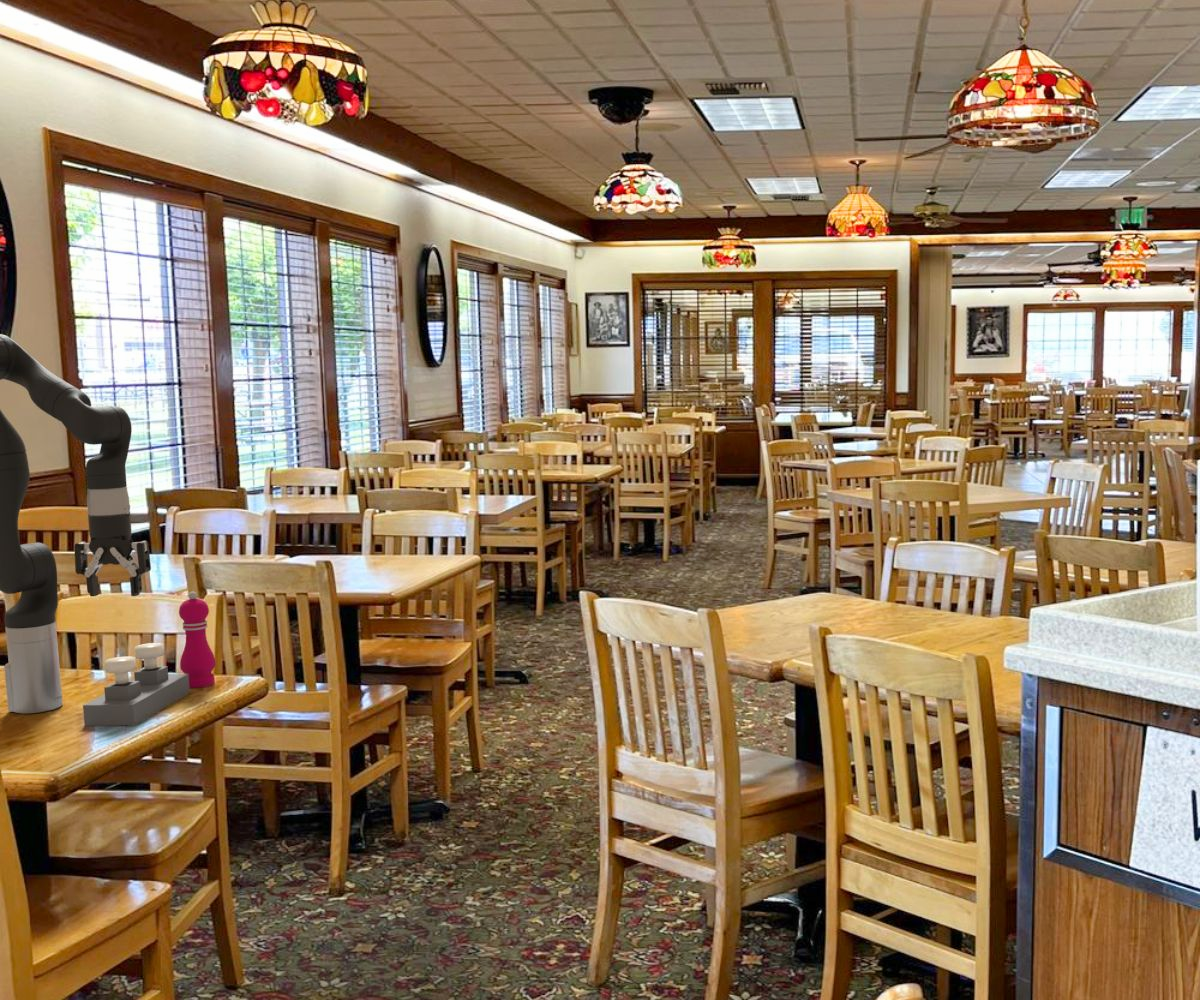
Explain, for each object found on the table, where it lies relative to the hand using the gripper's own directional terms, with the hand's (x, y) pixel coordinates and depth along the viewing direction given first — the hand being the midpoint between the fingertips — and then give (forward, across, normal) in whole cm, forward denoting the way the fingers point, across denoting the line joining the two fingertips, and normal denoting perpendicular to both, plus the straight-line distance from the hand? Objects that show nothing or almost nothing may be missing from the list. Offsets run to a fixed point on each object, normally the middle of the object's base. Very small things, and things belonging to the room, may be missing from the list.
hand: (115, 595), depth 245 cm
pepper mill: (+24, +4, +25) cm, 35 cm away
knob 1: (+17, 0, 0) cm, 17 cm away
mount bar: (+24, 0, +6) cm, 25 cm away
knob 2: (+17, 0, +12) cm, 21 cm away
